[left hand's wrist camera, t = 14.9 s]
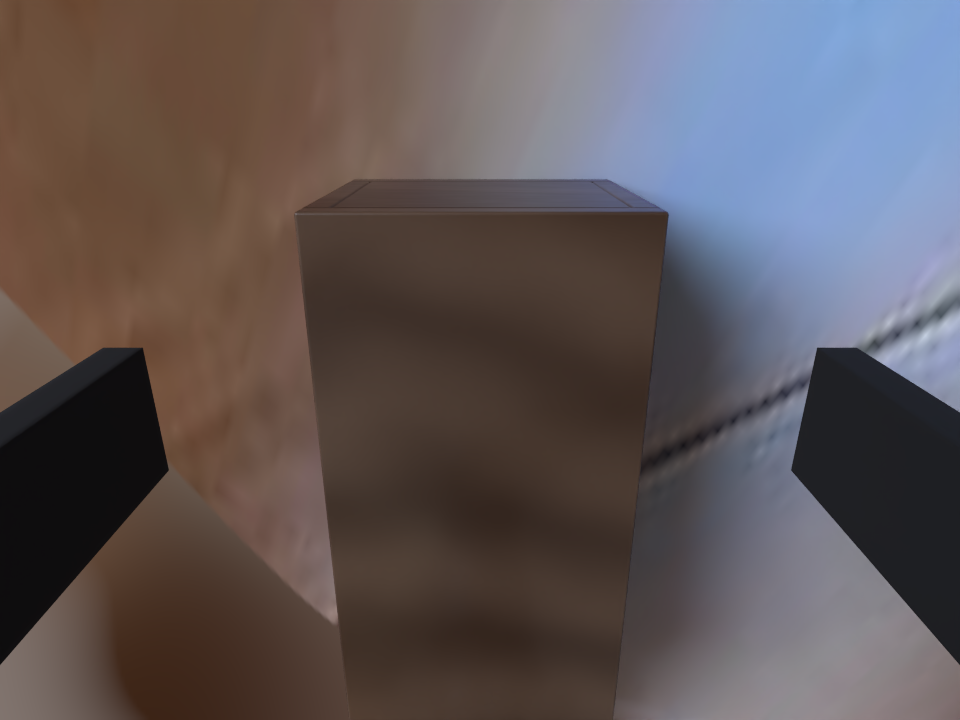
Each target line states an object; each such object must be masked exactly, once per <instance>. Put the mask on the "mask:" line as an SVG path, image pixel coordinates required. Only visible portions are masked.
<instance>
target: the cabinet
mask: <svg viewBox="0 0 960 720" xmlns="http://www.w3.org/2000/svg"><path fill="white" fill-rule="evenodd" d="M668 216H669V215H668V212H666V211H664V210H662V209H660V208H659V207H657V206H656V205H654V204H652V203H650V202H648V201H646V200H645V199H643V198H641V197H639V196H637V195H635V194H634V193H632V192H630V191H628V190H626V189H624V188H622V187H621V186H619V185H617V184H615V183H613V182H611V181H609V180H353V181H351V182H349V183H347V184H345V185H344V186H342V187H340V188H338V189H336V190H335V191H333V192H331V193H329V194H327V195H325V196H324V197H322V198H320V199H318V200H316V201H315V202H313V203H311V204H309V205H307V206H306V207H304V208H302V209H300V210H299V211H297V212H295V214H294V217H295V226H296V235H297V244H298V253H299V263H300V272H301V281H302V290H303V299H304V309H305V318H306V327H307V336H308V345H309V355H310V364H311V373H312V382H313V391H314V400H315V410H316V419H317V428H318V437H319V446H320V456H321V465H322V474H323V483H324V492H325V501H326V511H327V520H328V529H329V538H330V547H331V557H332V566H333V575H334V584H335V593H336V602H337V612H338V621H339V630H340V639H341V648H342V657H343V667H344V676H345V685H346V694H347V703H348V713H349V720H613V714H614V705H615V696H616V687H617V678H618V669H619V660H620V651H621V642H622V633H623V624H624V615H625V606H626V597H627V587H628V578H629V569H630V560H631V551H632V542H633V533H634V524H635V515H636V506H637V497H638V488H639V479H640V470H641V461H642V452H643V442H644V433H645V424H646V415H647V406H648V397H649V388H650V379H651V370H652V361H653V352H654V343H655V334H656V325H657V316H658V306H659V297H660V288H661V279H662V270H663V261H664V252H665V243H666V234H667V225H668Z"/></svg>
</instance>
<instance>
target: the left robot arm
mask: <svg viewBox="0 0 960 720" xmlns="http://www.w3.org/2000/svg"><path fill="white" fill-rule="evenodd" d="M168 470H169V469H168V464H167V459H166V455H165V450H164V445H163V441H162V436H161V431H160V427H159V422H158V417H157V413H156V408H155V403H154V399H153V394H152V389H151V384H150V380H149V375H148V370H147V366H146V361H145V356H144V352H143V348H102V349H101V350H99V351H98V352H96V353H94V354H93V355H91V356H90V357H88V358H86V359H85V360H83V361H82V362H80V363H78V364H77V365H75V366H74V367H72V368H70V369H69V370H67V371H66V372H64V373H63V374H61V375H59V376H58V377H56V378H55V379H53V380H51V381H50V382H48V383H47V384H45V385H43V386H42V387H40V388H39V389H37V390H35V391H34V392H32V393H31V394H29V395H28V396H26V397H24V398H23V399H21V400H20V401H18V402H16V403H15V404H13V405H12V406H10V407H8V408H7V409H5V410H4V411H2V412H0V664H1V663H2V662H3V661H4V660H5V659H6V658H7V656H8V655H9V654H10V653H11V652H12V651H13V649H14V648H15V647H16V646H17V645H18V644H19V643H20V641H21V640H22V639H23V638H24V637H25V636H26V634H27V633H28V632H29V631H30V630H31V629H32V628H33V626H34V625H35V624H36V623H37V622H38V621H39V619H40V618H41V617H42V616H43V615H44V614H45V612H46V611H47V610H48V609H49V608H50V607H51V606H52V604H53V603H54V602H55V601H56V600H57V599H58V597H59V596H60V595H61V594H62V593H63V592H64V591H65V589H66V588H67V587H68V586H69V585H70V584H71V582H72V581H73V580H74V579H75V578H76V577H77V576H78V574H79V573H80V572H81V571H82V570H83V569H84V567H85V566H86V565H87V564H88V563H89V562H90V561H91V559H92V558H93V557H94V556H95V555H96V554H97V553H98V551H99V550H100V549H101V548H102V547H103V546H104V544H105V543H106V542H107V541H108V540H109V539H110V538H111V536H112V535H113V534H114V533H115V532H116V531H117V529H118V528H119V527H120V526H121V525H122V524H123V522H124V521H125V520H126V519H127V518H128V517H129V516H130V514H131V513H132V512H133V511H134V510H135V509H136V508H137V506H138V505H139V504H140V503H141V502H142V501H143V499H144V498H145V497H146V496H147V495H148V494H149V493H150V491H151V490H152V489H153V488H154V487H155V486H156V484H157V483H158V482H159V481H160V480H161V479H162V477H163V476H164V475H165V474H166V473H167V472H168ZM791 471H792V472H793V473H794V474H795V475H796V476H797V478H798V479H799V480H800V481H801V482H802V483H803V484H804V486H805V487H806V488H807V489H808V490H809V491H810V493H811V494H812V495H813V496H814V497H815V498H816V499H817V501H818V502H819V503H820V504H821V505H822V506H823V508H824V509H825V510H826V511H827V512H828V513H829V514H830V516H831V517H832V518H833V519H834V520H835V521H836V523H837V524H838V525H839V526H840V527H841V528H842V529H843V531H844V532H845V533H846V534H847V535H848V536H849V538H850V539H851V540H852V541H853V542H854V543H855V544H856V546H857V547H858V548H859V549H860V550H861V551H862V553H863V554H864V555H865V556H866V557H867V558H868V559H869V561H870V562H871V563H872V564H873V565H874V566H875V568H876V569H877V570H878V571H879V572H880V573H881V574H882V576H883V577H884V578H885V579H886V580H887V581H888V583H889V584H890V585H891V586H892V587H893V588H894V589H895V591H896V592H897V593H898V594H899V595H900V596H901V598H902V599H903V600H904V601H905V602H906V603H907V604H908V606H909V607H910V608H911V609H912V610H913V611H914V613H915V614H916V615H917V616H918V617H919V618H920V619H921V621H922V622H923V623H924V624H925V625H926V626H927V628H928V629H929V630H930V631H931V632H932V633H933V634H934V636H935V637H936V638H937V639H938V640H939V641H940V643H941V644H942V645H943V646H944V647H945V648H946V649H947V651H948V652H949V653H950V654H951V655H952V656H953V658H954V659H955V660H956V661H957V662H958V663H959V664H960V412H958V411H956V410H955V409H953V408H952V407H950V406H948V405H947V404H945V403H944V402H942V401H940V400H939V399H937V398H936V397H934V396H933V395H931V394H929V393H928V392H926V391H925V390H923V389H921V388H920V387H918V386H917V385H915V384H913V383H912V382H910V381H909V380H907V379H905V378H904V377H902V376H901V375H899V374H897V373H896V372H894V371H893V370H891V369H890V368H888V367H886V366H885V365H883V364H882V363H880V362H878V361H877V360H875V359H874V358H872V357H870V356H869V355H867V354H866V353H864V352H862V351H861V350H859V349H858V348H817V352H816V356H815V361H814V366H813V370H812V375H811V380H810V384H809V389H808V394H807V399H806V403H805V408H804V413H803V417H802V422H801V427H800V431H799V436H798V441H797V445H796V450H795V455H794V459H793V464H792V469H791Z"/></svg>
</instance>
